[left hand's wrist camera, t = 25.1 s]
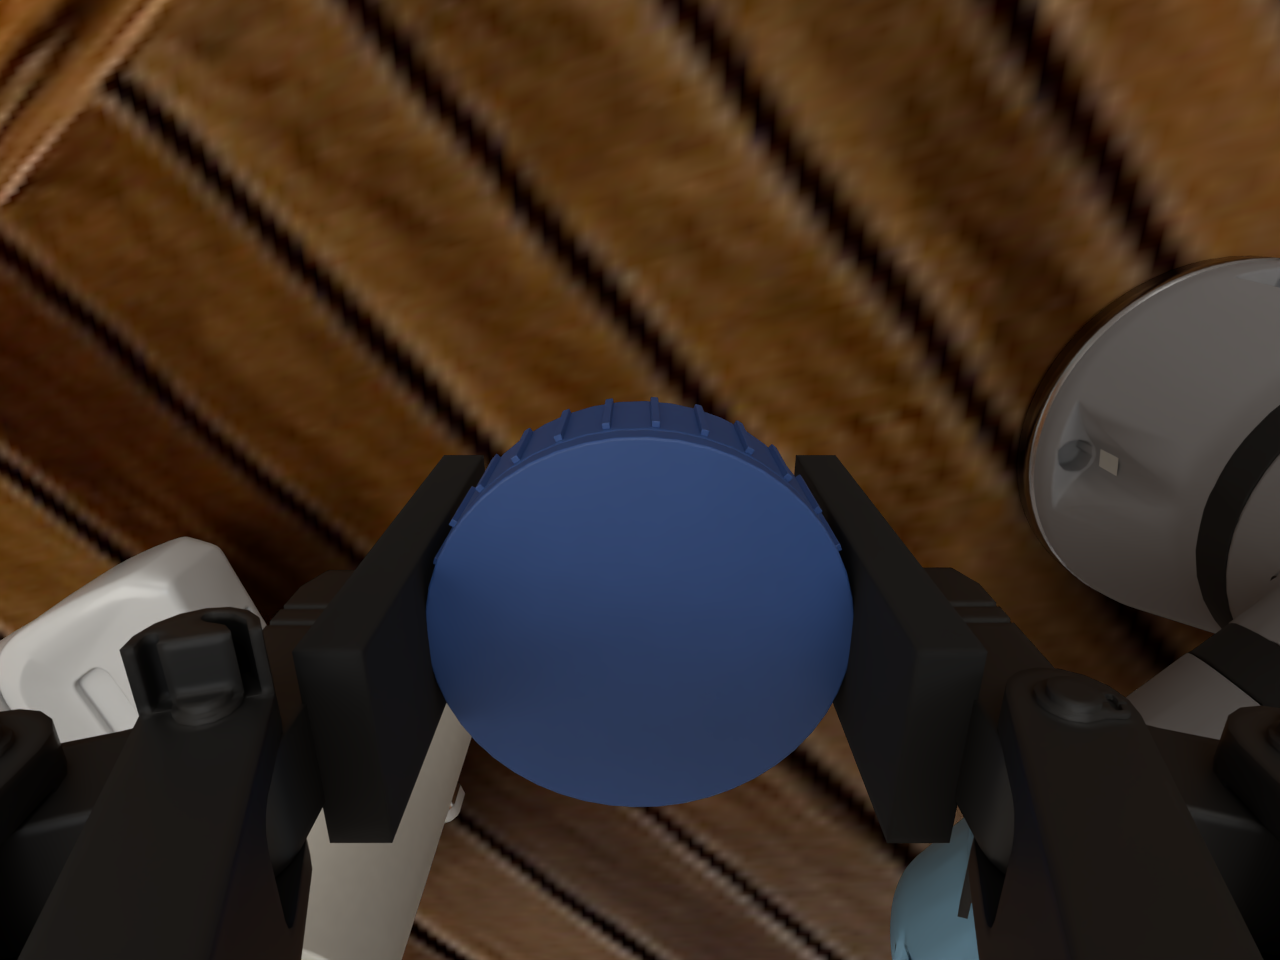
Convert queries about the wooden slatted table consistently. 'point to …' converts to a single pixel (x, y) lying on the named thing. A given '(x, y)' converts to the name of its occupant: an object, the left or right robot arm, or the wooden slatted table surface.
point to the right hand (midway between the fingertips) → (420, 725)
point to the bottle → (382, 865)
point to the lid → (639, 606)
